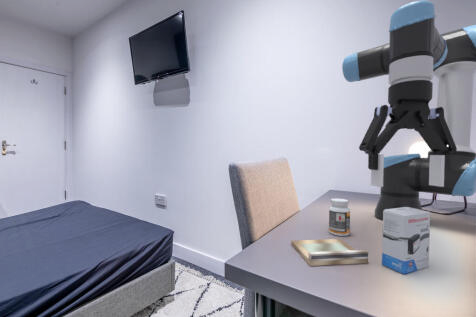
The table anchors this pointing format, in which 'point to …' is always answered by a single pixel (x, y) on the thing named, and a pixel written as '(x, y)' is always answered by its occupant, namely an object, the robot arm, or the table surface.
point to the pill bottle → (339, 217)
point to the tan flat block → (329, 252)
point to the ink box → (405, 239)
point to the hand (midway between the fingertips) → (406, 186)
